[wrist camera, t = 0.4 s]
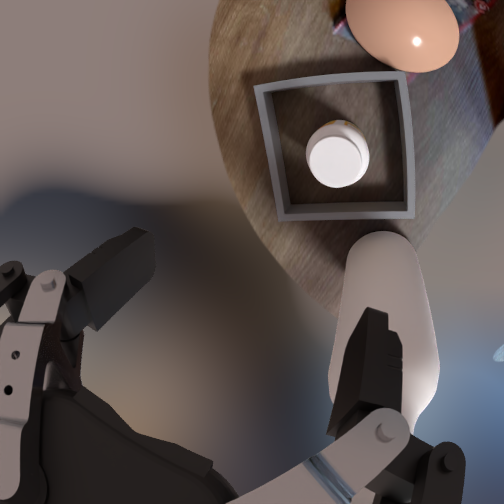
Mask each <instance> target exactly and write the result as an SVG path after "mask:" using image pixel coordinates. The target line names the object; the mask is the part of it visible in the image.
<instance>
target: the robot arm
mask: <svg viewBox="0 0 504 504" xmlns="http://www.w3.org/2000/svg"><path fill="white" fill-rule="evenodd" d="M155 268H156V261H155V244H154V235H153V233H152V232H149V231H146V230H144V229H141V228H138V227H133V228H131V229H130V230H128V231H127V232H125V233H124V234H122V235H120V236H117V237H114V238H111V239H109V240H107V241H106V242H104V243H103V244H102V245H100V246H99V248H96V249H94V250H93V251H92V253H89V254H88V255H86V256H85V257H84V258H82V259H81V260H79V261H78V262H77V263H75V264H74V265H73V266H71V267H70V268H69V269H67V270H66V271H65V272H63V273H62V272H60V271H58V270H48V271H45V272H43V273H41V274H39V275H38V276H36V277H35V276H31V275H27V274H25V271H24V268H23V265H22V263H20V262H18V261H10V262H7V263H5V264H3V265H1V266H0V307H1V306H2V305H4V304H6V306H7V308H8V310H9V312H10V314H11V316H10V317H8V318H7V319H6V321H4V322H3V323H2V325H0V504H350V503H351V501H352V498H353V496H355V495H356V494H357V493H358V492H359V491H360V490H361V489H363V488H364V487H365V488H367V489H368V490H370V491H372V492H374V493H375V496H374V500H373V503H372V504H461V501H462V494H463V486H464V477H465V466H466V461H465V456H464V453H463V451H462V450H461V448H459V446H458V445H456V444H455V443H452V442H442V443H440V444H439V445H437V446H435V447H433V446H431V445H429V444H427V443H425V442H424V441H422V440H420V439H418V438H416V437H415V436H413V435H412V434H411V433H410V428H409V425H408V422H407V420H406V419H405V418H404V416H403V415H402V414H401V408H402V384H403V371H402V369H403V361H402V359H403V346H402V343H401V341H400V338H399V336H398V334H397V332H395V331H391V330H389V319H388V313H386V312H383V311H380V310H377V309H374V308H370V307H366V309H365V310H364V312H363V314H362V316H361V318H360V319H359V321H358V323H357V325H356V327H355V329H354V331H353V332H352V334H351V336H350V338H349V340H348V342H347V345H346V348H345V352H344V356H343V362H342V367H341V372H340V377H339V382H338V386H337V391H336V396H335V400H334V404H333V409H332V413H331V417H330V421H329V425H328V429H327V433H326V435H330V436H334V437H335V441H334V442H333V443H332V444H331V445H329V446H328V447H327V448H325V449H324V450H322V451H321V452H319V453H318V454H316V455H315V456H312V457H310V458H309V459H307V460H305V461H304V462H302V463H301V464H299V465H297V466H296V467H294V468H292V469H291V470H289V471H288V472H286V473H284V474H283V475H281V476H279V477H278V478H275V479H274V480H272V481H270V482H268V483H266V484H265V485H263V486H261V487H259V488H257V489H255V490H253V491H251V492H249V493H247V494H245V495H243V496H241V497H239V496H238V494H237V492H236V491H235V490H234V488H233V487H232V486H231V484H230V483H229V482H228V481H227V480H226V479H225V478H224V477H223V476H222V475H221V474H219V473H218V472H217V471H216V470H214V469H213V468H212V467H213V461H212V460H209V459H207V458H205V457H203V456H200V455H198V454H196V453H194V452H192V451H190V450H187V449H185V448H183V447H181V446H179V445H177V444H175V443H171V442H167V441H163V440H159V439H156V438H152V437H149V436H146V435H142V434H139V433H137V432H135V431H134V430H132V429H131V428H130V427H129V425H128V424H126V422H125V421H124V420H123V419H122V418H121V417H120V416H119V415H118V414H117V413H116V412H115V410H114V409H113V408H112V407H111V406H110V405H109V404H108V403H106V402H105V401H103V400H102V399H100V398H99V397H98V396H96V395H95V394H93V393H92V392H91V391H89V390H88V389H86V388H85V387H84V386H83V385H82V381H81V361H82V351H83V342H84V331H83V329H84V328H85V327H86V326H89V327H91V328H92V329H93V330H95V331H98V330H99V329H100V328H101V327H102V326H103V325H104V324H105V323H106V322H107V321H108V320H109V319H110V318H111V317H112V316H113V315H114V314H115V313H116V312H117V311H119V309H121V308H122V307H123V306H124V305H125V304H126V303H127V302H128V301H129V300H130V299H131V298H132V297H133V296H134V295H135V294H136V293H137V292H138V291H139V290H140V289H141V288H142V287H143V286H144V285H145V284H147V283H148V282H149V281H150V280H151V278H152V277H153V275H154V272H155Z"/></svg>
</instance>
